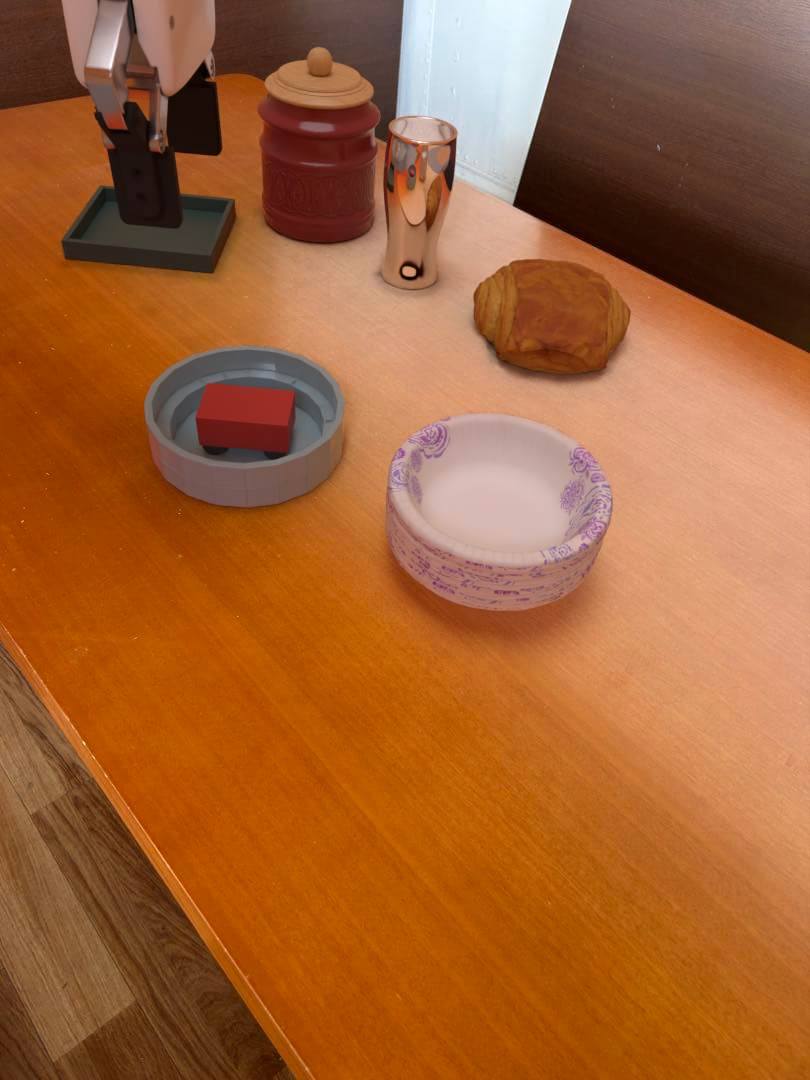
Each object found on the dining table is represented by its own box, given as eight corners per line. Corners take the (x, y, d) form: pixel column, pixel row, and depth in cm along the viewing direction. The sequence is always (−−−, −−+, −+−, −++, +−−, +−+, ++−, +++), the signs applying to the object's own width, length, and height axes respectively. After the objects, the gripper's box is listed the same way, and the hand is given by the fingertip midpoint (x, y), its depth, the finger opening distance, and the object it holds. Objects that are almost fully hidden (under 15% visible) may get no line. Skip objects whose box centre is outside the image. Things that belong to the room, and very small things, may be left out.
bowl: (130, 502, 59) (119, 457, 56) (178, 381, 70) (171, 337, 66) (333, 520, 60) (334, 476, 57) (350, 397, 70) (352, 354, 67)
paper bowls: (385, 478, 63) (393, 398, 58) (573, 494, 64) (599, 416, 58) (375, 632, 53) (382, 554, 47) (598, 649, 54) (633, 574, 48)
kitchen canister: (240, 210, 92) (228, 37, 79) (327, 184, 99) (329, 21, 86) (308, 256, 86) (308, 78, 73) (396, 226, 93) (410, 58, 80)
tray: (65, 258, 82) (60, 240, 80) (103, 202, 91) (99, 184, 89) (212, 273, 82) (210, 255, 81) (236, 215, 91) (234, 198, 90)
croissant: (480, 308, 86) (481, 236, 81) (627, 316, 83) (639, 242, 78) (459, 381, 76) (459, 304, 71) (626, 393, 73) (639, 314, 68)
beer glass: (367, 263, 86) (375, 116, 76) (425, 255, 89) (441, 112, 78) (391, 296, 82) (404, 146, 71) (451, 287, 85) (472, 140, 74)
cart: (200, 454, 63) (195, 417, 60) (211, 420, 66) (207, 382, 63) (288, 462, 63) (287, 425, 60) (295, 427, 66) (295, 390, 63)
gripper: (94, -248, 39) (151, 124, 51) (-69, -227, 27) (57, 251, 39) (248, -233, 39) (267, 135, 51) (152, -205, 27) (208, 265, 39)
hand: (176, 185), depth 45 cm, fingers open, 9 cm apart
